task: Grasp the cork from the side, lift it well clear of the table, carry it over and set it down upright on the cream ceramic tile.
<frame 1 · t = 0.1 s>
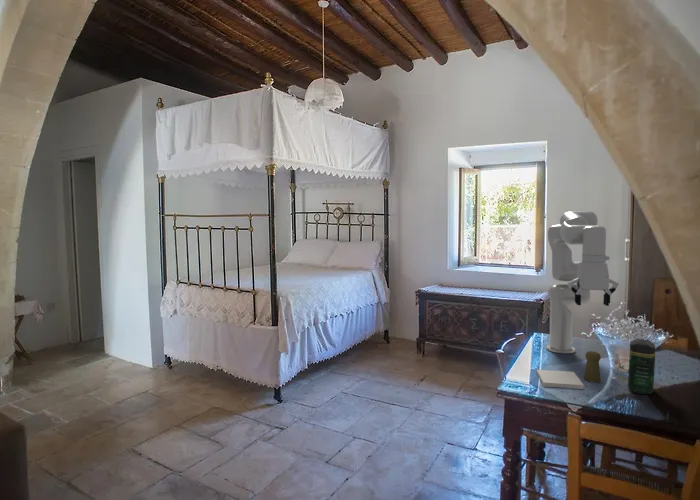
hand: (592, 304, 165), 31 cm above the table, tool pointing down, fingers open, 9 cm apart
tile: (558, 380, 172), on the table
cork: (592, 379, 174), on the table
coffee jar: (640, 390, 163), on the table
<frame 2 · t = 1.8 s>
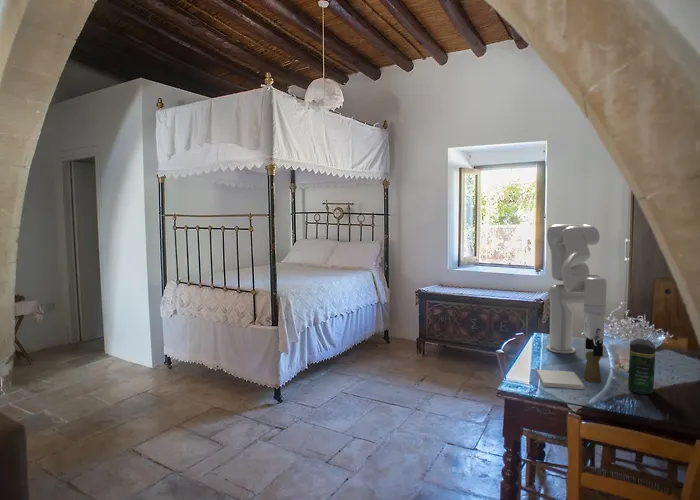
hand: (593, 352, 172), 11 cm above the table, tool pointing down, fingers open, 9 cm apart
nothing on the table moved.
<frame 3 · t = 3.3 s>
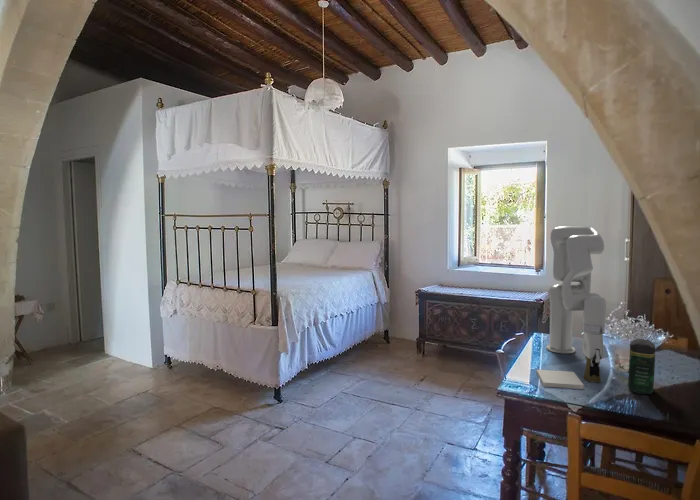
hand: (592, 373, 173), 2 cm above the table, tool pointing down, fingers closed on cork, 3 cm apart
cork: (592, 379, 174), on the table, touching gripper
everything else where it was.
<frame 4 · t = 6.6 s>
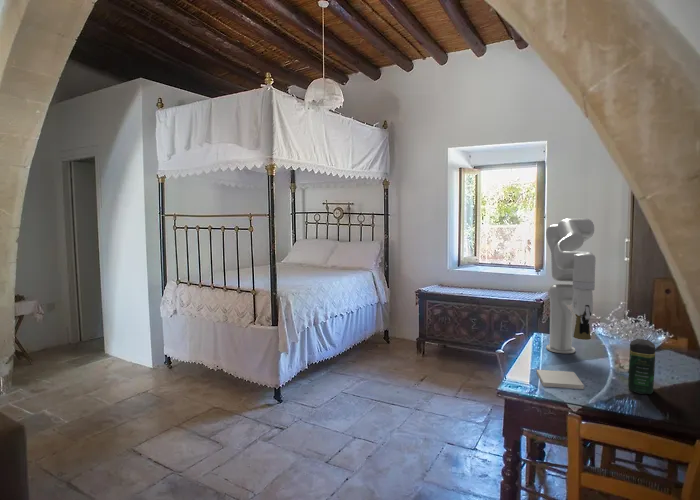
hand: (582, 331, 172), 19 cm above the table, tool pointing down, fingers closed on cork, 3 cm apart
cork: (582, 338, 172), point 17 cm above the table, touching gripper
everything else where it was.
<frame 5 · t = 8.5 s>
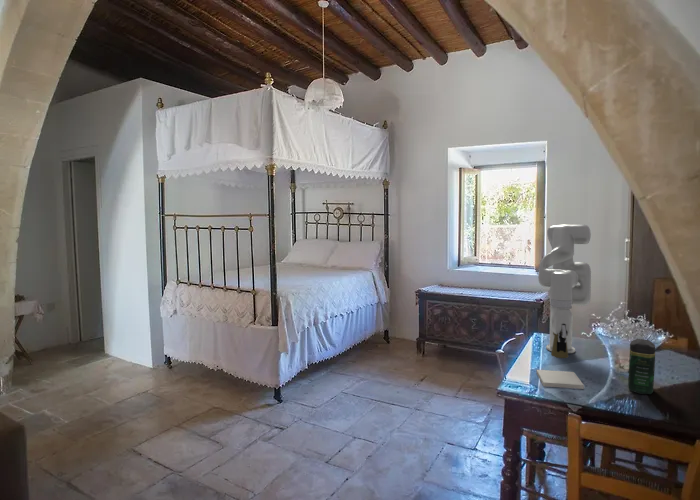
hand: (559, 349, 171), 12 cm above the table, tool pointing down, fingers closed on cork, 3 cm apart
cork: (559, 356, 172), point 10 cm above the table, touching gripper
everything else where it was.
when the fingers open (6 cm above the table, at t = 10.0 s): cork drops 2 cm, resting on tile.
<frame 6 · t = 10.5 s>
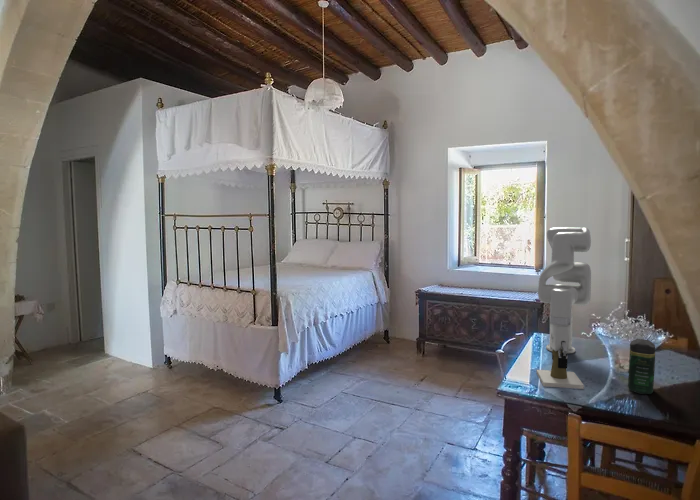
hand: (559, 363, 172), 7 cm above the table, tool pointing down, fingers open, 9 cm apart
cork: (558, 376, 173), point 1 cm above the table, touching tile
everything else where it was.
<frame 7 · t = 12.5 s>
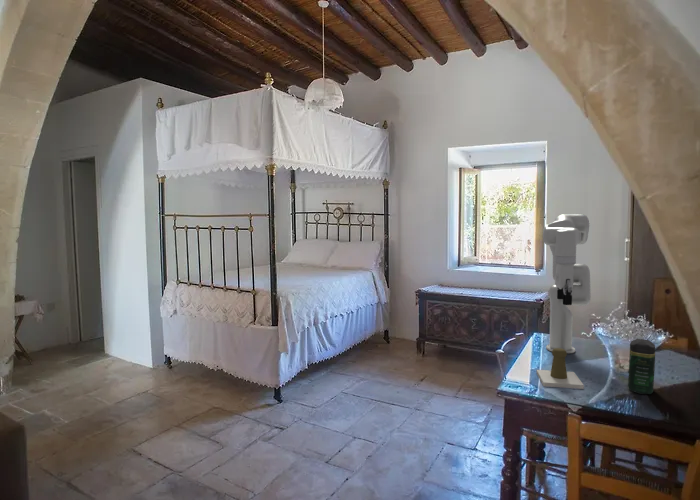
hand: (564, 301, 179), 29 cm above the table, tool pointing down, fingers open, 9 cm apart
nothing on the table moved.
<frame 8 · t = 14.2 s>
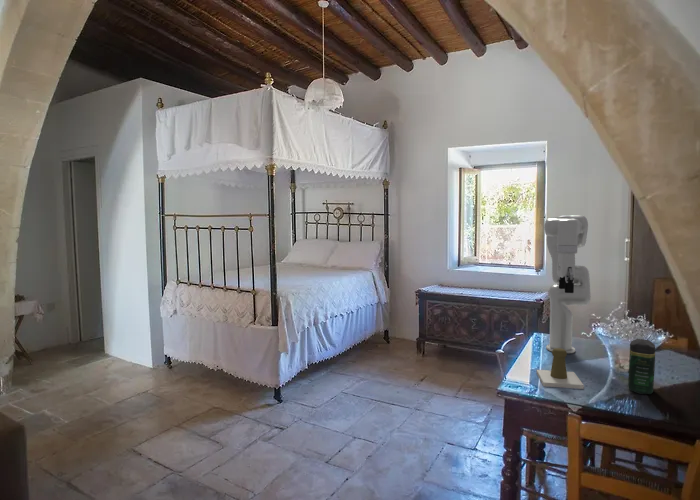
hand: (566, 290, 182), 33 cm above the table, tool pointing down, fingers open, 9 cm apart
nothing on the table moved.
at the end: cork inside the target area on the tile (0.9 cm from its centre), point 1.3 cm above the tile's base; cork tilted 0°; the gripper is holding nothing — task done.
